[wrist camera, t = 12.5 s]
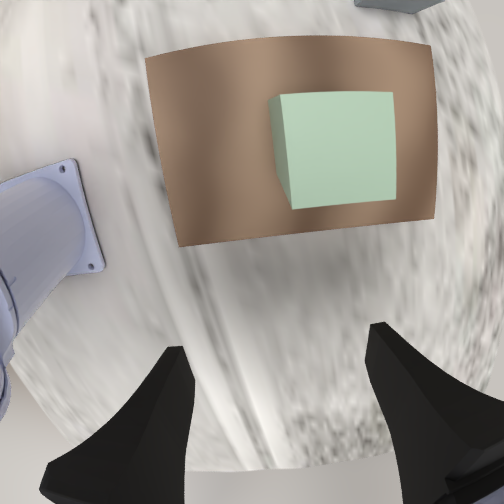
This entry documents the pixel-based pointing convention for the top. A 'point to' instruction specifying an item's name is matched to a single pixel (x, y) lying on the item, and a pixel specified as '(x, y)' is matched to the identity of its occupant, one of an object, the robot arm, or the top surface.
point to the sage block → (334, 147)
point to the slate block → (398, 4)
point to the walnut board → (260, 134)
